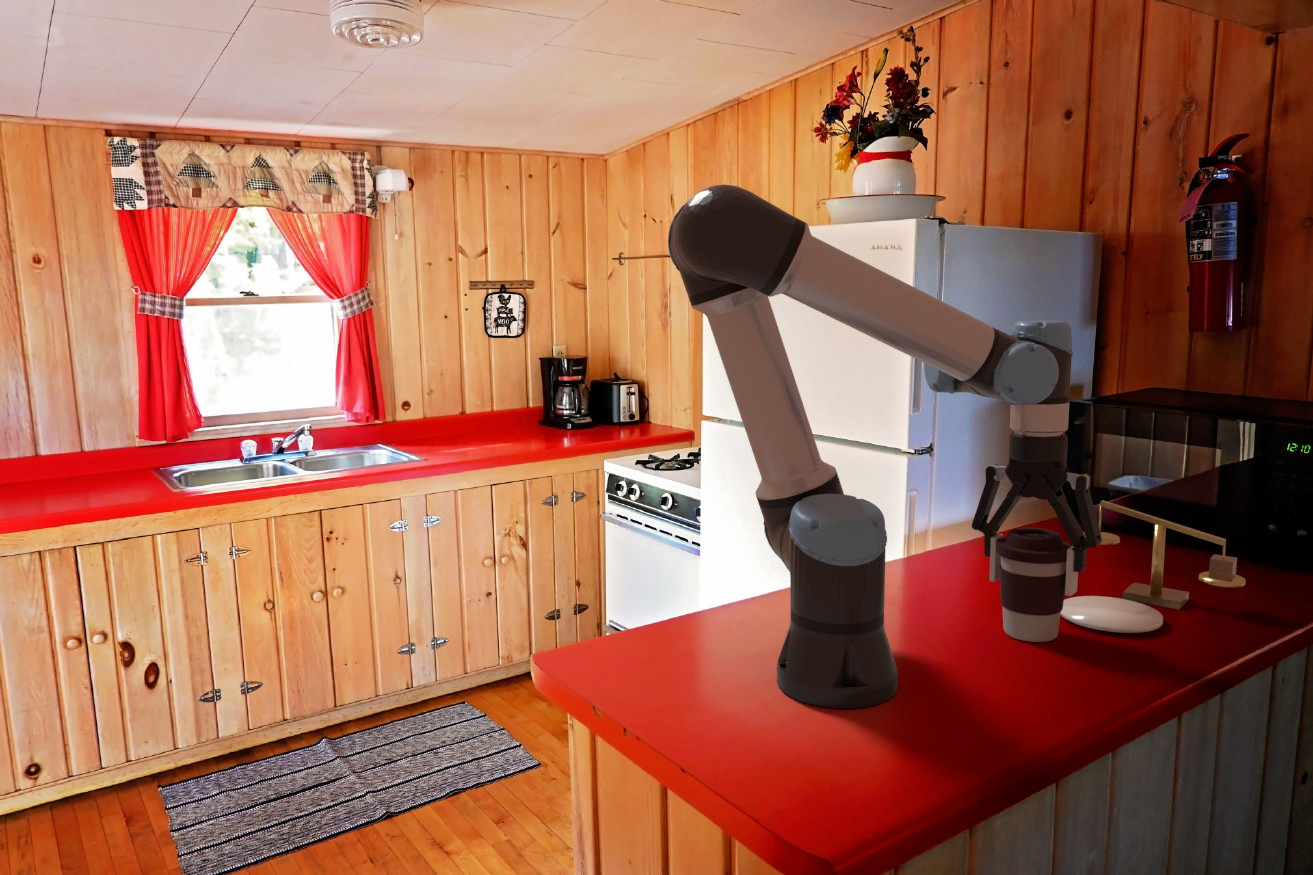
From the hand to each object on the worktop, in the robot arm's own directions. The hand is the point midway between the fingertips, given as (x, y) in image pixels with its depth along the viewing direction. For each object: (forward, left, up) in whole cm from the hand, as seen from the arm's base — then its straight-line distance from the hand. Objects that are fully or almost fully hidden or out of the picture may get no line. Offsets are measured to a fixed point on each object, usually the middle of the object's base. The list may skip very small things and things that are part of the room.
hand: (1032, 585), depth 130 cm
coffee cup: (0, 0, -7) cm, 7 cm away
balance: (+27, -10, -7) cm, 30 cm away
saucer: (+13, -7, -7) cm, 16 cm away
